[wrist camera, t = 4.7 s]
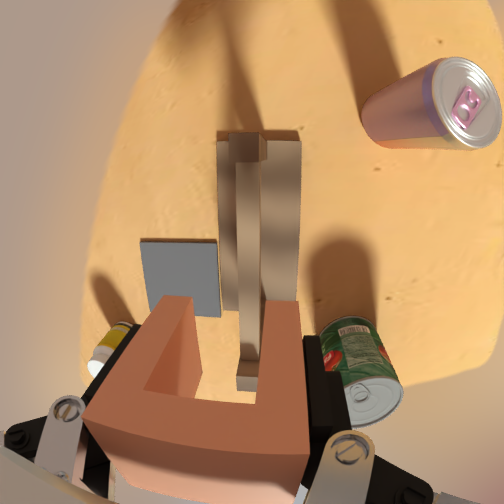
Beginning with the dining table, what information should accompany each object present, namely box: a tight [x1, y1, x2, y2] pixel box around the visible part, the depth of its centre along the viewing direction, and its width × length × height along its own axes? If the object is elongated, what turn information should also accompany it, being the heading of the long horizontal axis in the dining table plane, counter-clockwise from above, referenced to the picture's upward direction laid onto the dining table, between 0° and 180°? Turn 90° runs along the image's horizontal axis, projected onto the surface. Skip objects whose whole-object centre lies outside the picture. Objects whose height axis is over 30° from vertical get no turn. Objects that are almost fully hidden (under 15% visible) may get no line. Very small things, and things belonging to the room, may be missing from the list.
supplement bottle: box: [87, 322, 133, 378], centre depth 32 cm, size 5×5×8 cm
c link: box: [81, 295, 310, 504], centre depth 9 cm, size 4×5×6 cm
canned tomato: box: [319, 316, 403, 429], centre depth 28 cm, size 8×8×11 cm
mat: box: [140, 242, 221, 318], centre depth 32 cm, size 9×9×1 cm
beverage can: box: [362, 57, 502, 151], centre depth 18 cm, size 6×6×15 cm
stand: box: [217, 133, 301, 392], centre depth 24 cm, size 18×8×14 cm, turn 0°
